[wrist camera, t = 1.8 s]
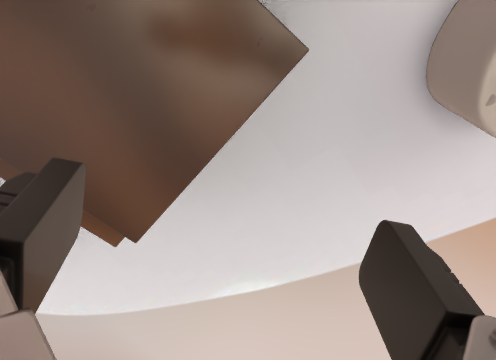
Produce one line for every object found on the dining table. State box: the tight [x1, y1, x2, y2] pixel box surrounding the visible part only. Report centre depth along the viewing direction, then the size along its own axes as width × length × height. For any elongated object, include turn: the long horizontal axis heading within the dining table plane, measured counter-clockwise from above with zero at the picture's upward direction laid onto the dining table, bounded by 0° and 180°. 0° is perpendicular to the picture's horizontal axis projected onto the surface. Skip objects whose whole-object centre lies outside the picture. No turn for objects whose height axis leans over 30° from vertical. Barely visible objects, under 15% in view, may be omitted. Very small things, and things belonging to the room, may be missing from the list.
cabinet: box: [0, 0, 309, 243], centre depth 26 cm, size 16×14×9 cm
